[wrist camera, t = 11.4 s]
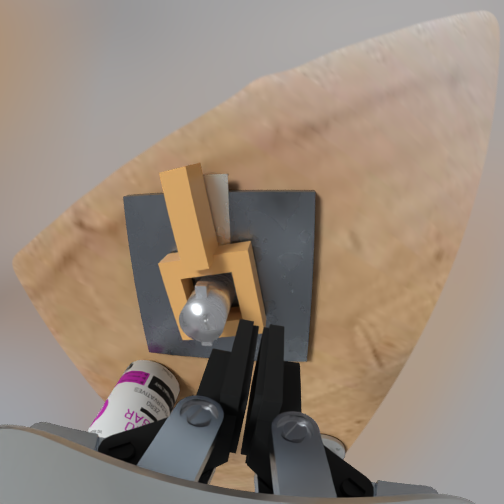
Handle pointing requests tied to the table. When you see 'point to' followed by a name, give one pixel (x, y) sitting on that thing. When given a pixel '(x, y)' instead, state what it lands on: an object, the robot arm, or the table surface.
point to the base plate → (222, 285)
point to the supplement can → (137, 399)
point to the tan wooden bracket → (205, 251)
